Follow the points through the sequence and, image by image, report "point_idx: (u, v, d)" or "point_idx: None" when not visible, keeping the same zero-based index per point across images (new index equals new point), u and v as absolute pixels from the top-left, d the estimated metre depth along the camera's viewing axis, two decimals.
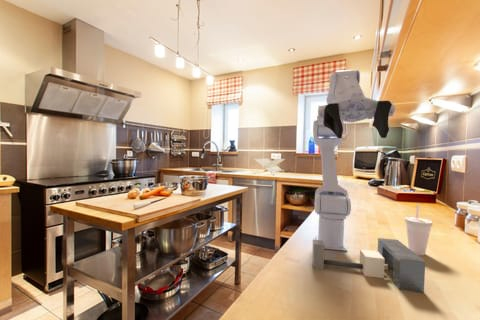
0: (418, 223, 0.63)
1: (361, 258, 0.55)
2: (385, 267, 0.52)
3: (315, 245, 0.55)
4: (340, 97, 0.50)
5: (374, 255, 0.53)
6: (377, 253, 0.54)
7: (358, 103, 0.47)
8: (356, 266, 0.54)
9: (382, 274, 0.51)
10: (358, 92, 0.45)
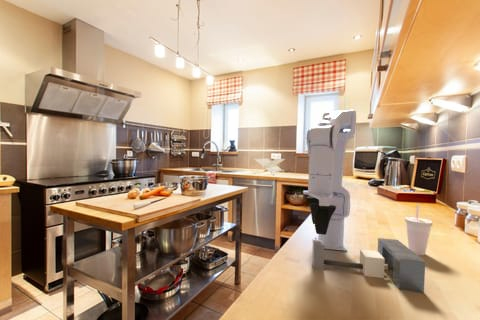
0: (418, 223, 0.63)
1: (361, 258, 0.55)
2: (385, 267, 0.52)
3: (315, 245, 0.55)
4: None
5: (374, 255, 0.53)
6: (377, 253, 0.54)
7: None
8: (356, 266, 0.54)
9: (382, 274, 0.51)
10: (303, 192, 0.56)
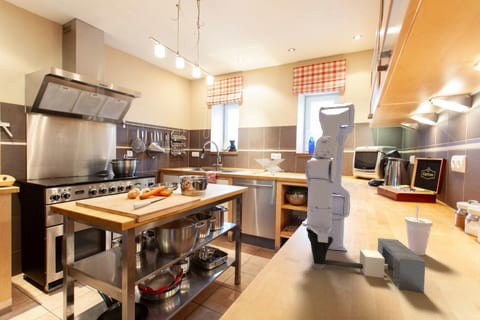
0: (418, 223, 0.63)
1: (361, 258, 0.55)
2: (385, 267, 0.52)
3: None
4: None
5: (374, 254, 0.53)
6: (377, 253, 0.54)
7: None
8: (356, 266, 0.54)
9: (382, 274, 0.51)
10: (302, 224, 0.56)
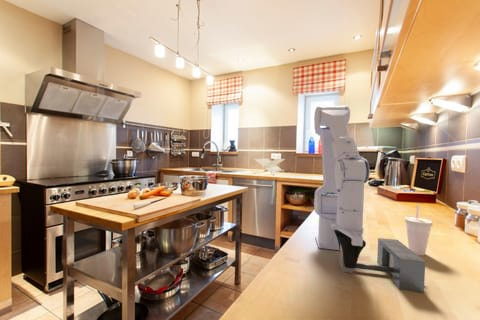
0: (418, 223, 0.63)
1: (392, 261, 0.53)
2: None
3: None
4: None
5: None
6: None
7: None
8: (387, 270, 0.52)
9: None
10: (331, 226, 0.55)
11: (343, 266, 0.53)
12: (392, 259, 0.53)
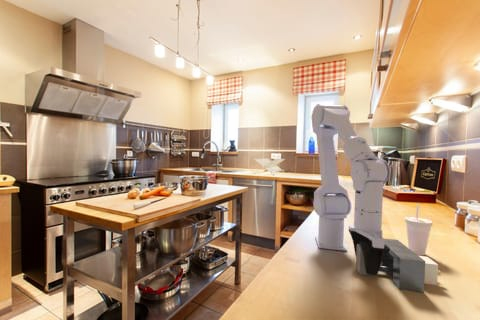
0: (418, 223, 0.63)
1: None
2: (437, 273, 0.49)
3: None
4: None
5: (425, 260, 0.51)
6: (427, 258, 0.52)
7: None
8: None
9: (435, 281, 0.49)
10: (349, 228, 0.54)
11: (361, 268, 0.53)
12: None
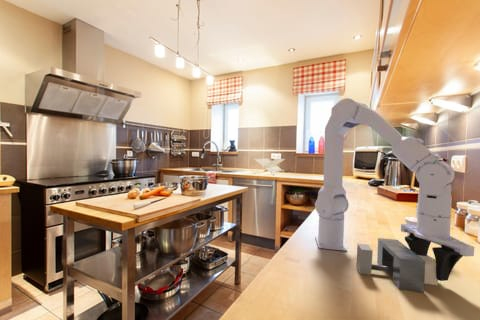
0: None
1: None
2: None
3: (362, 250, 0.52)
4: None
5: (427, 261, 0.50)
6: (429, 258, 0.51)
7: None
8: None
9: (436, 281, 0.49)
10: (418, 236, 0.50)
11: (361, 268, 0.52)
12: None
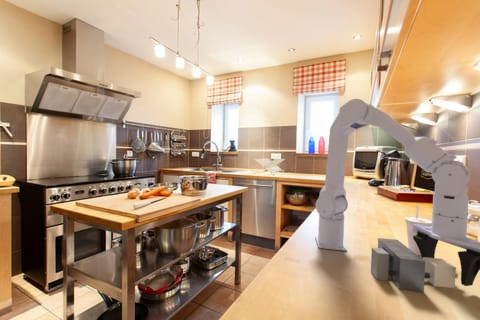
0: (418, 223, 0.63)
1: (426, 266, 0.51)
2: (454, 276, 0.48)
3: (379, 254, 0.50)
4: (432, 219, 0.52)
5: (442, 263, 0.49)
6: (443, 261, 0.51)
7: None
8: None
9: (453, 284, 0.48)
10: (435, 237, 0.49)
11: (378, 273, 0.50)
12: (426, 264, 0.51)
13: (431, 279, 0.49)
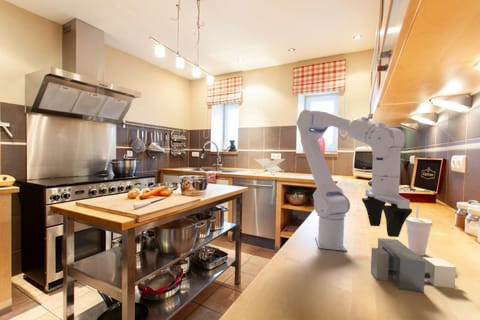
0: (418, 223, 0.63)
1: (426, 266, 0.51)
2: (454, 276, 0.48)
3: (379, 254, 0.50)
4: None
5: (442, 263, 0.49)
6: (443, 261, 0.51)
7: None
8: None
9: (453, 284, 0.48)
10: (368, 195, 0.55)
11: (378, 273, 0.50)
12: (426, 264, 0.51)
13: (431, 279, 0.49)
